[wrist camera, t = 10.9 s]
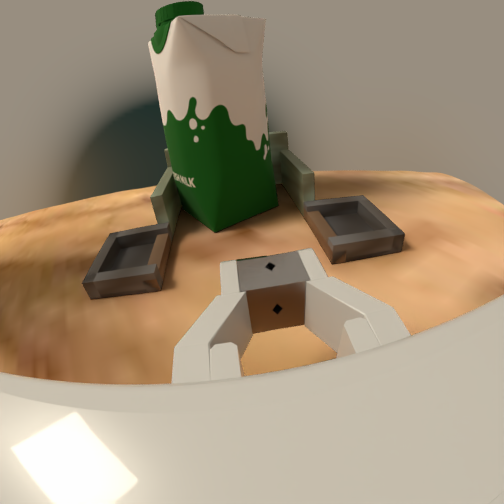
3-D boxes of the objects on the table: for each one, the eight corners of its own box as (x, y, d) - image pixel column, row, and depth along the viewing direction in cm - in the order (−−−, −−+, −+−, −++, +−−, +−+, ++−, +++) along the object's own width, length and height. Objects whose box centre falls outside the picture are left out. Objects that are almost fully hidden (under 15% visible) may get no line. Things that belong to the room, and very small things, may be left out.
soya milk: (172, 210, 28) (138, 27, 17) (241, 184, 32) (221, 21, 21) (210, 241, 22) (171, -10, 11) (293, 205, 26) (275, -3, 15)
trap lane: (90, 299, 17) (55, 227, 14) (140, 203, 31) (127, 157, 28) (401, 251, 18) (414, 174, 15) (325, 175, 32) (324, 128, 29)
